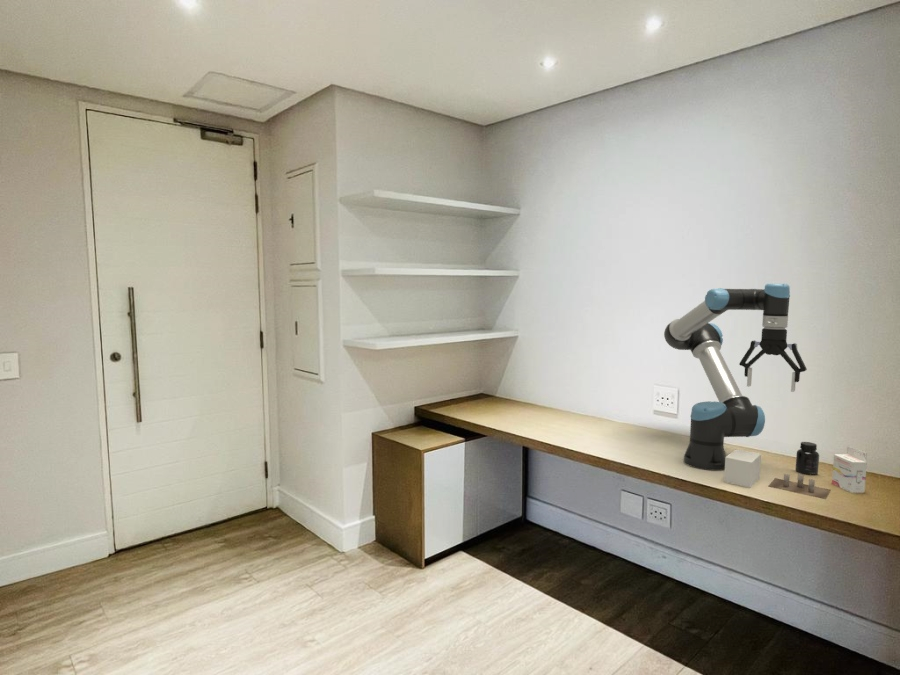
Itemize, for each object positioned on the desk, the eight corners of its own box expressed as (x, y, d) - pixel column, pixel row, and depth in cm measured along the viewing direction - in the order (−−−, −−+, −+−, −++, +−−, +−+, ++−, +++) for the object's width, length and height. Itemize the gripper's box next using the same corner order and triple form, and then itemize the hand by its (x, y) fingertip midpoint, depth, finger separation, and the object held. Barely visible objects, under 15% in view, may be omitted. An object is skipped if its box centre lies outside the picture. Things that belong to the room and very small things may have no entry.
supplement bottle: (790, 472, 200) (793, 440, 199) (810, 473, 200) (812, 440, 199) (802, 479, 194) (804, 446, 192) (822, 479, 193) (824, 446, 192)
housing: (734, 476, 196) (735, 449, 195) (759, 482, 190) (761, 453, 189) (723, 486, 186) (725, 457, 185) (749, 492, 181) (751, 462, 180)
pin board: (767, 490, 182) (768, 474, 182) (774, 482, 190) (775, 466, 190) (825, 503, 172) (826, 486, 171) (830, 494, 180) (831, 477, 179)
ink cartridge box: (830, 487, 186) (833, 445, 184) (844, 487, 186) (847, 444, 185) (850, 497, 177) (854, 452, 176) (865, 497, 178) (868, 452, 176)
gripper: (732, 326, 196) (728, 385, 198) (815, 331, 180) (810, 395, 182) (738, 325, 202) (734, 382, 204) (819, 329, 186) (814, 391, 188)
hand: (770, 388), depth 193 cm, fingers open, 13 cm apart
